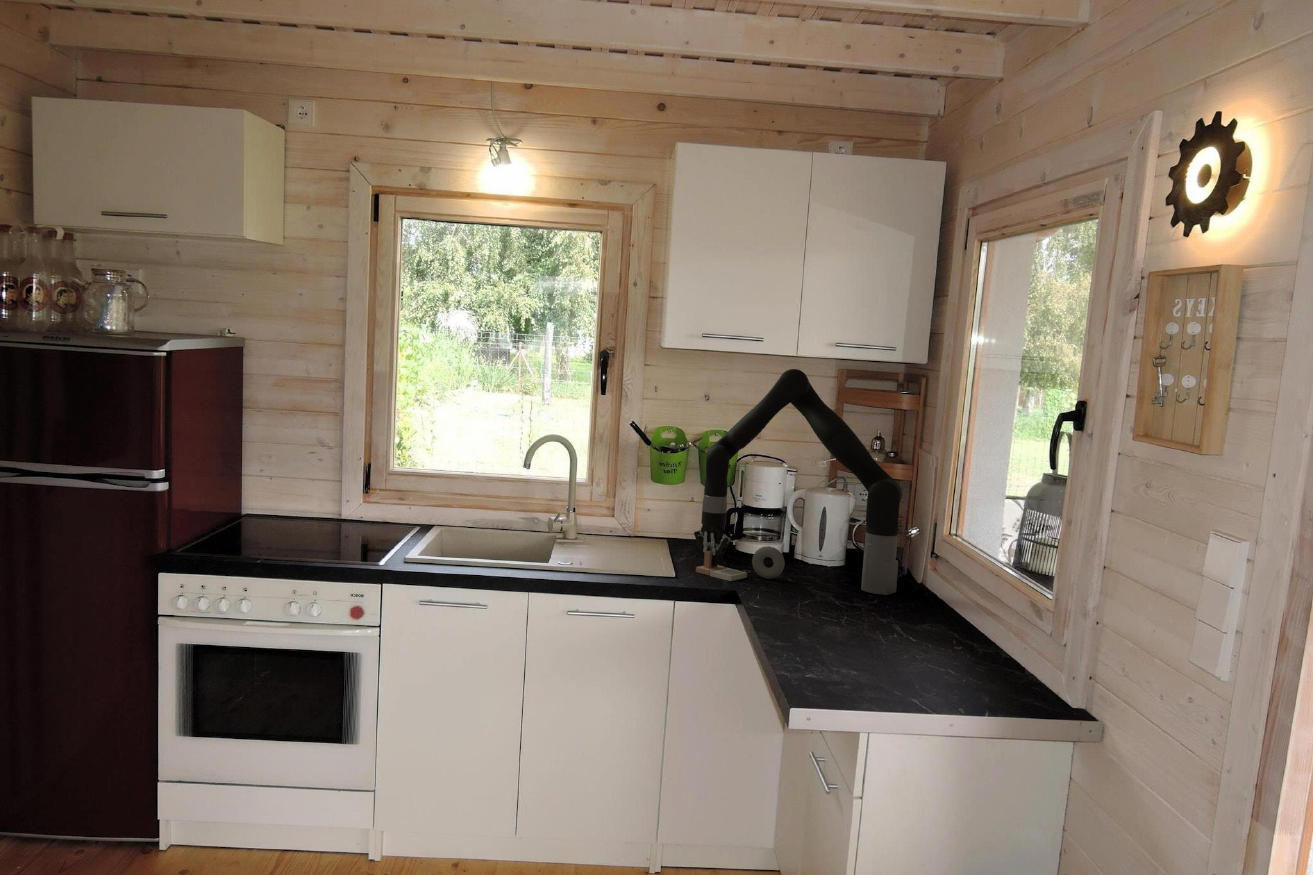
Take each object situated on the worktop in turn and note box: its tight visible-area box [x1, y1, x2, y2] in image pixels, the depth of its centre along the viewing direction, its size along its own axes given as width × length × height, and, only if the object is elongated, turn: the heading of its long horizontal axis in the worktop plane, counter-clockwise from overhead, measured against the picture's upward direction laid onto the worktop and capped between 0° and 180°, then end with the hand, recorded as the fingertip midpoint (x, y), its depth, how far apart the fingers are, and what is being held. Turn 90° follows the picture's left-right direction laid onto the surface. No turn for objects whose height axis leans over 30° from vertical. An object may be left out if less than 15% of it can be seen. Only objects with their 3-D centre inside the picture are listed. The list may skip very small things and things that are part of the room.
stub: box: [695, 549, 726, 576], centre depth 285 cm, size 5×8×6 cm, turn 138°
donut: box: [751, 545, 786, 580], centre depth 280 cm, size 10×4×10 cm, turn 68°
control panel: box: [709, 567, 748, 582], centre depth 280 cm, size 8×8×2 cm
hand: (710, 565), depth 285 cm, fingers closed on stub, 2 cm apart
